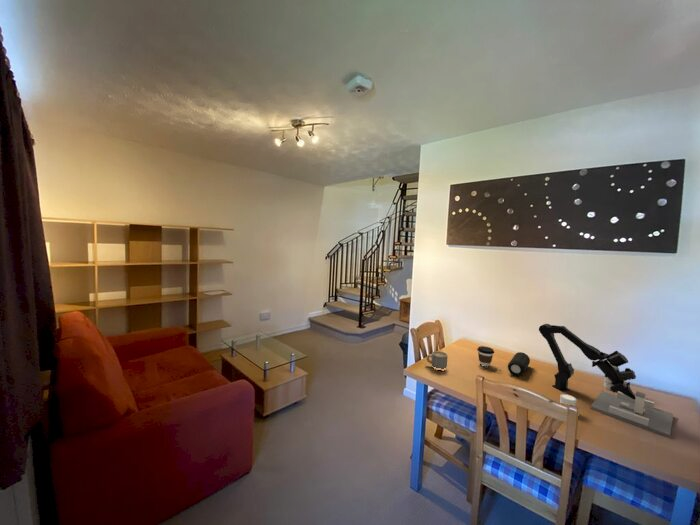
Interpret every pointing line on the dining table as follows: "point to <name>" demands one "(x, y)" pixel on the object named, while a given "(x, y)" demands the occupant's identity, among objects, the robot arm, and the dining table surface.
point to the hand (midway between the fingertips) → (635, 399)
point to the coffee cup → (485, 355)
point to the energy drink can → (608, 381)
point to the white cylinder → (568, 399)
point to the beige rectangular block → (639, 402)
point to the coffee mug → (438, 359)
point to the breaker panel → (624, 411)
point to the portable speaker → (518, 364)
